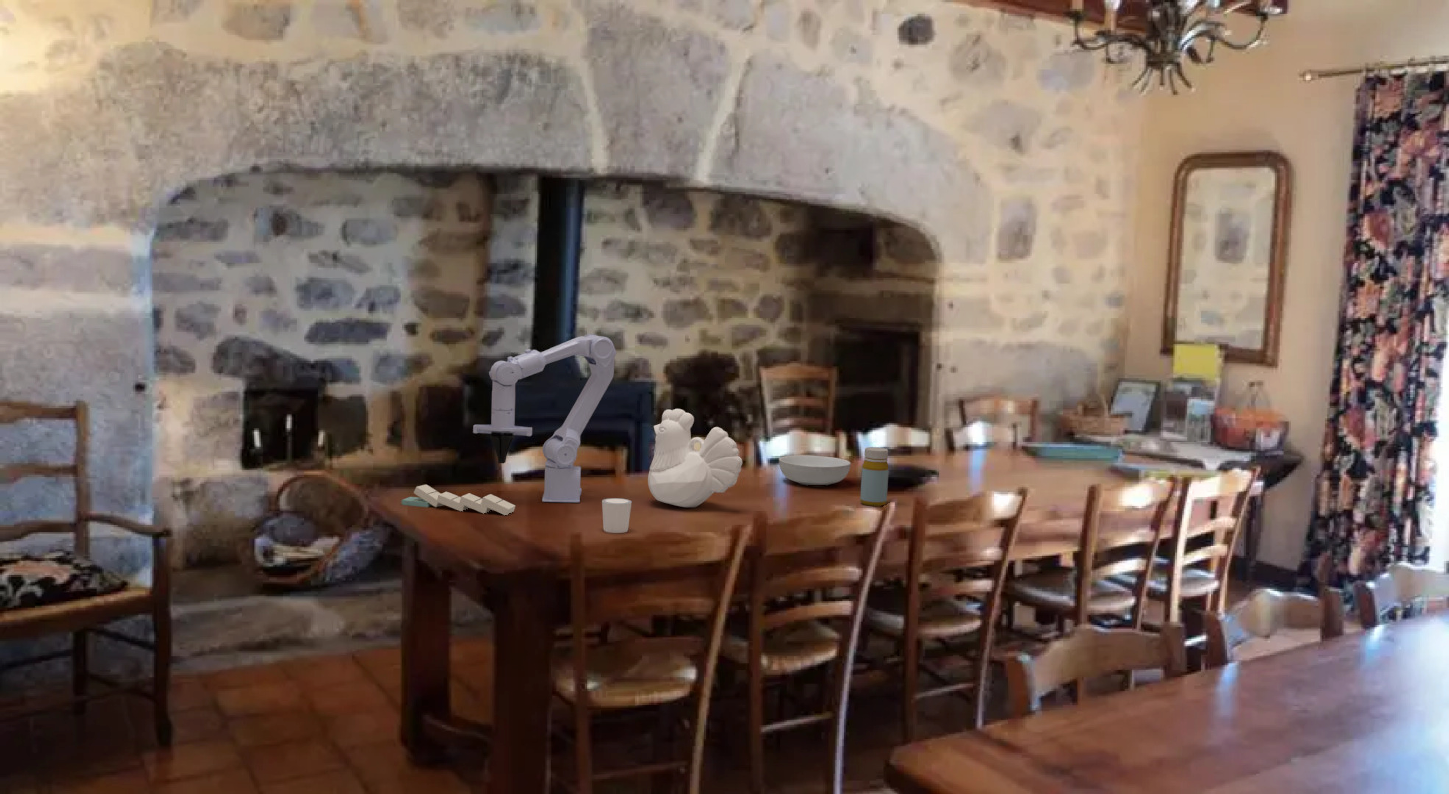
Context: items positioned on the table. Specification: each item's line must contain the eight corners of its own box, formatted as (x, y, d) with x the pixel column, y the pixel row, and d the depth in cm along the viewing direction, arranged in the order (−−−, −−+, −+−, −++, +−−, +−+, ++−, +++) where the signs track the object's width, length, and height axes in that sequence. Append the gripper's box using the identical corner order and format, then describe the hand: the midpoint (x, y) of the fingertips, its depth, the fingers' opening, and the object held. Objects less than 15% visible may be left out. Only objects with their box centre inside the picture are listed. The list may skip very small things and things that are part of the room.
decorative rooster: (634, 503, 307) (637, 408, 304) (672, 495, 320) (676, 403, 317) (711, 520, 292) (716, 419, 289) (748, 510, 305) (753, 414, 302)
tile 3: (471, 501, 293) (446, 491, 294) (464, 504, 289) (438, 494, 290) (469, 508, 293) (444, 498, 295) (462, 511, 289) (436, 501, 290)
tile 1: (435, 499, 296) (410, 496, 298) (427, 502, 292) (401, 499, 294) (435, 506, 296) (410, 503, 298) (427, 509, 292) (401, 507, 294)
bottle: (888, 503, 323) (892, 448, 321) (883, 507, 316) (886, 452, 315) (863, 500, 325) (866, 446, 324) (857, 504, 319) (860, 449, 317)
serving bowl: (861, 483, 350) (862, 460, 350) (828, 493, 333) (829, 469, 332) (799, 474, 361) (800, 451, 361) (764, 483, 344) (765, 459, 343)
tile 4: (494, 503, 292) (469, 492, 293) (487, 506, 287) (461, 496, 288) (492, 510, 292) (466, 499, 293) (484, 514, 288) (459, 503, 289)
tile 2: (448, 498, 295) (426, 484, 297) (438, 500, 291) (416, 486, 293) (445, 504, 296) (423, 490, 298) (435, 507, 292) (413, 493, 293)
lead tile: (515, 505, 291) (490, 493, 292) (508, 508, 286) (483, 497, 287) (513, 512, 291) (488, 500, 292) (506, 515, 287) (480, 504, 288)
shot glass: (601, 526, 280) (602, 497, 279) (630, 527, 281) (631, 498, 280) (600, 533, 273) (601, 503, 272) (630, 534, 274) (631, 504, 273)
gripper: (535, 408, 302) (533, 461, 303) (478, 405, 303) (477, 458, 304) (529, 412, 295) (527, 466, 296) (471, 409, 296) (470, 463, 297)
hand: (501, 462), depth 300 cm, fingers closed
